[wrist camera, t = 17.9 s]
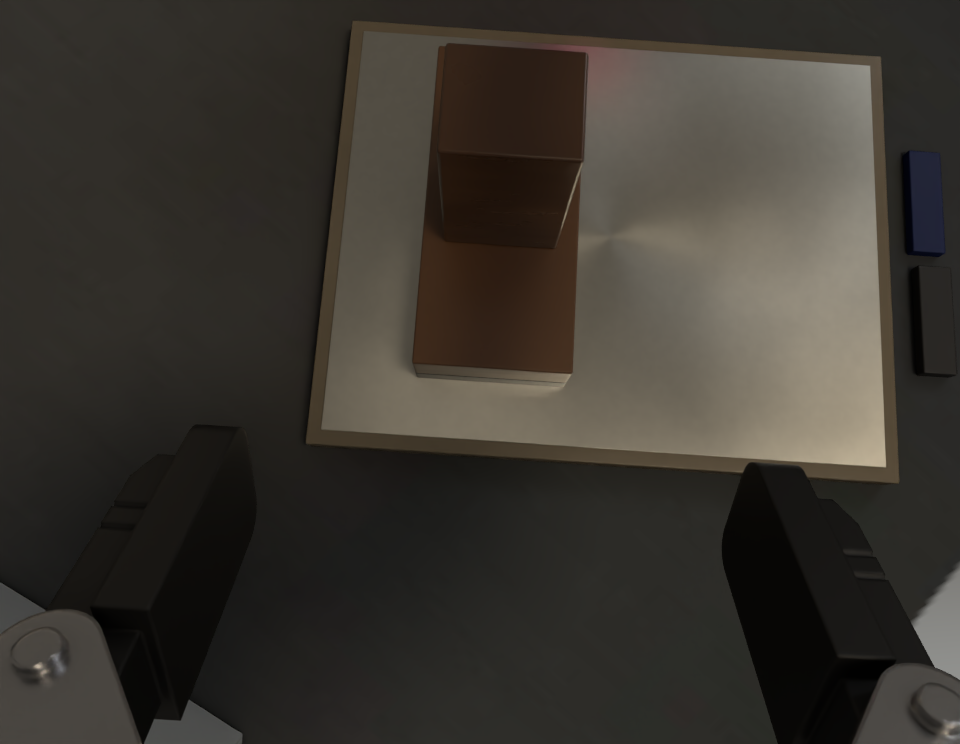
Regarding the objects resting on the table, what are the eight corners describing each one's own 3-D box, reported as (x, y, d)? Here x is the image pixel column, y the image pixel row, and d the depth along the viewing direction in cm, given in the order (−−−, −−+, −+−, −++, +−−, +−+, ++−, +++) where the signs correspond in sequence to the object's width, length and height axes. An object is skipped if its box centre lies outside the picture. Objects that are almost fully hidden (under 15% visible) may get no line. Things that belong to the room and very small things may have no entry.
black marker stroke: (958, 375, 27) (949, 378, 27) (951, 267, 27) (942, 271, 28) (924, 373, 27) (915, 375, 27) (918, 264, 27) (910, 269, 28)
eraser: (416, 377, 26) (392, 309, 17) (440, 85, 28) (429, -99, 20) (563, 387, 26) (608, 323, 17) (575, 94, 28) (621, -86, 20)
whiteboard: (310, 446, 26) (304, 443, 25) (355, 34, 29) (351, 18, 28) (885, 484, 26) (901, 483, 25) (869, 70, 29) (882, 54, 28)
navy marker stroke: (945, 253, 28) (937, 258, 28) (940, 152, 28) (932, 158, 29) (913, 250, 28) (905, 255, 28) (908, 150, 28) (901, 156, 29)
